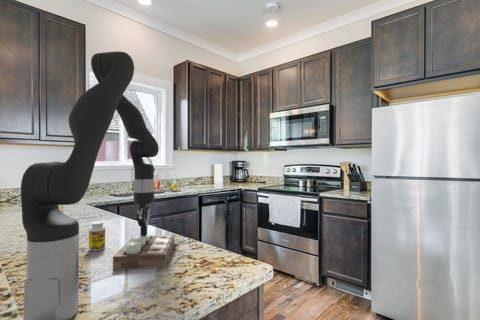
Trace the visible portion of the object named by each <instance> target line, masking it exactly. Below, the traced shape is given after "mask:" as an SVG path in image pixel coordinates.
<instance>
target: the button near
mask: <svg viewBox="0 0 480 320" xmlns="http://www.w3.org/2000/svg"><path fill="white" fill-rule="evenodd" d="M125 244H126V243H125ZM140 253H141V243H140V242H131V243H128V244H126V255H132V254H140Z"/></svg>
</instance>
